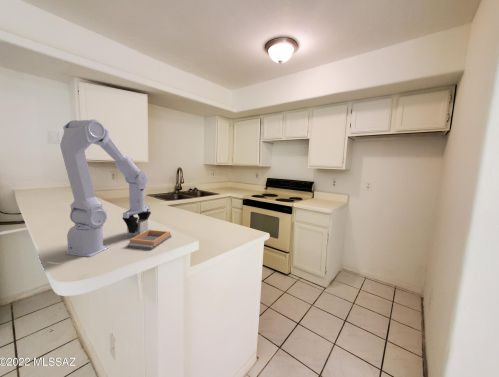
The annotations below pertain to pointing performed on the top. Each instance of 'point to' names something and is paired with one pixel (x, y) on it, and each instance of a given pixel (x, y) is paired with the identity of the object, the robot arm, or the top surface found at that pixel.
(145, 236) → the frame
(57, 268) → the top surface
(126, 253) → the top surface
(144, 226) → the brushed metal cube
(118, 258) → the top surface
